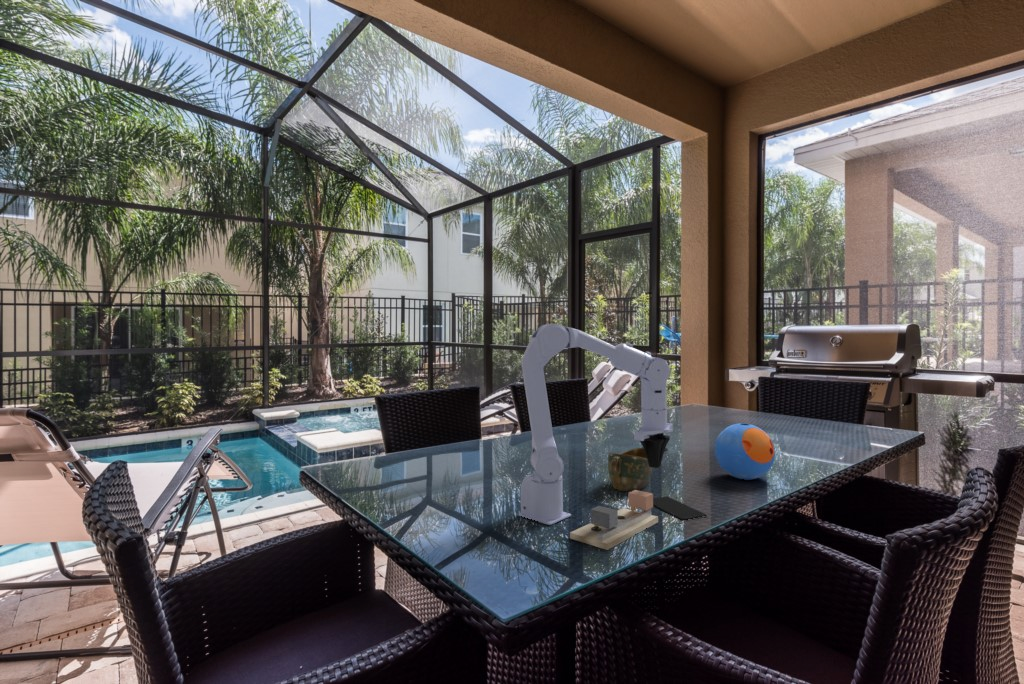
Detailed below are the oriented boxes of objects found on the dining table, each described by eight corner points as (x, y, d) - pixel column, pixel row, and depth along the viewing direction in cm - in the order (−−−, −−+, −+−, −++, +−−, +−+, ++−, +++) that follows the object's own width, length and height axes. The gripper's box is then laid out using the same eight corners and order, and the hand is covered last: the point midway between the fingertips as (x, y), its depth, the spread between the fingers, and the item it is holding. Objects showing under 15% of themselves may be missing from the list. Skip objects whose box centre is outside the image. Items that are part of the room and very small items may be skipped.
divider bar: (597, 539, 106) (597, 533, 106) (646, 514, 120) (646, 509, 120) (602, 541, 106) (602, 535, 106) (651, 515, 119) (651, 510, 119)
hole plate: (570, 538, 110) (570, 532, 110) (622, 513, 125) (622, 507, 125) (607, 550, 104) (607, 543, 104) (658, 522, 119) (658, 516, 119)
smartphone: (682, 519, 119) (643, 499, 133) (682, 523, 119) (643, 503, 133) (707, 514, 121) (667, 496, 136) (707, 518, 122) (667, 499, 136)
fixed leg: (590, 529, 111) (589, 509, 111) (598, 525, 113) (598, 505, 113) (609, 534, 108) (609, 514, 108) (617, 530, 110) (617, 510, 110)
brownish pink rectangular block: (627, 511, 122) (627, 492, 122) (634, 507, 124) (634, 489, 124) (646, 515, 118) (646, 496, 118) (653, 512, 121) (652, 493, 121)
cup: (585, 484, 148) (585, 448, 148) (641, 475, 157) (641, 440, 157) (616, 497, 137) (616, 457, 136) (674, 486, 146) (674, 449, 146)
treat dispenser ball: (747, 469, 161) (746, 418, 161) (788, 482, 146) (787, 426, 146) (703, 474, 156) (703, 421, 156) (741, 489, 142) (740, 430, 141)
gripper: (654, 414, 117) (654, 476, 118) (684, 406, 128) (685, 463, 128) (625, 411, 122) (626, 470, 122) (657, 404, 133) (658, 458, 133)
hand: (654, 466), depth 126 cm, fingers closed
